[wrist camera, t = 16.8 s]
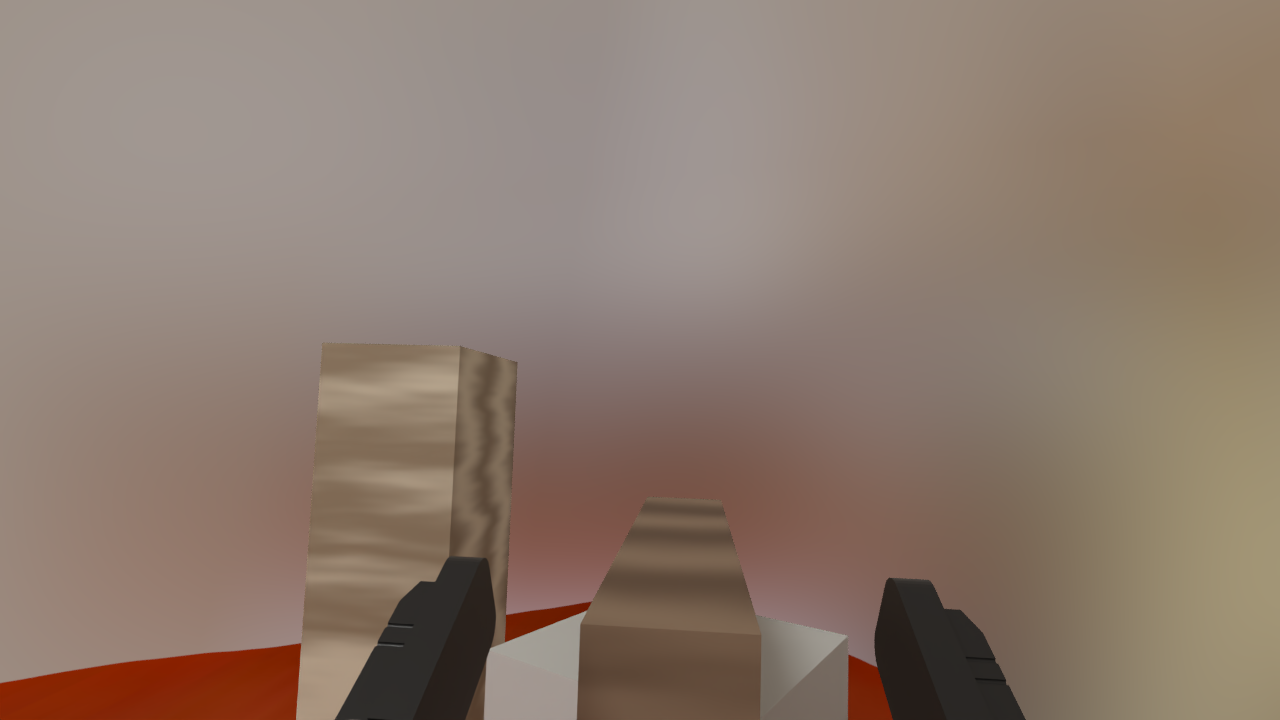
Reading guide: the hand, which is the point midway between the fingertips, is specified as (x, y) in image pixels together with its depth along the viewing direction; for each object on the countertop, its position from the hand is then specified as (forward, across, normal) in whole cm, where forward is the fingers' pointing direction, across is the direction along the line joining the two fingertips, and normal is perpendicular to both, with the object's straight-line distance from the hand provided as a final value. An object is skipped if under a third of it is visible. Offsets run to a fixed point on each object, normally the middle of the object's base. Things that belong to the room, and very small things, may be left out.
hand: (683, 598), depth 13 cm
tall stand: (+11, -17, -35) cm, 41 cm away
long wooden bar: (+8, 0, -10) cm, 13 cm away
